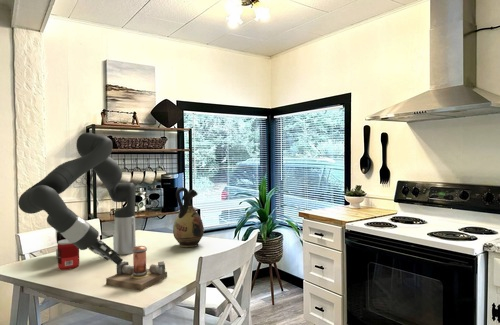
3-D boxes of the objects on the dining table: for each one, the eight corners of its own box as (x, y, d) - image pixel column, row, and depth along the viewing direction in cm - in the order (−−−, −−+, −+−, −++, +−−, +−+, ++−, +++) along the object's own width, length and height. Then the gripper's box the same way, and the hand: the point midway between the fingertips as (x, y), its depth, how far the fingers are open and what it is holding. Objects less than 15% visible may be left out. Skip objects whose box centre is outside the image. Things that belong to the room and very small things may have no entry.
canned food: (83, 264, 147) (83, 239, 147) (68, 270, 139) (67, 243, 139) (69, 263, 149) (69, 237, 149) (53, 269, 142) (53, 242, 141)
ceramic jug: (191, 240, 188) (191, 185, 188) (210, 245, 177) (209, 186, 177) (164, 246, 176) (163, 187, 175) (182, 251, 165) (181, 189, 165)
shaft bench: (106, 284, 124) (105, 268, 124) (134, 271, 137) (134, 257, 137) (143, 290, 117) (143, 274, 117) (169, 277, 130) (169, 262, 130)
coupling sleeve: (129, 276, 125) (129, 248, 125) (139, 271, 130) (138, 245, 130) (140, 277, 123) (140, 249, 123) (150, 273, 128) (149, 246, 128)
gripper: (97, 225, 108) (132, 254, 116) (79, 220, 118) (112, 247, 126) (79, 245, 104) (117, 274, 112) (62, 238, 114) (98, 265, 122)
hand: (114, 260), depth 119 cm, fingers open, 8 cm apart
